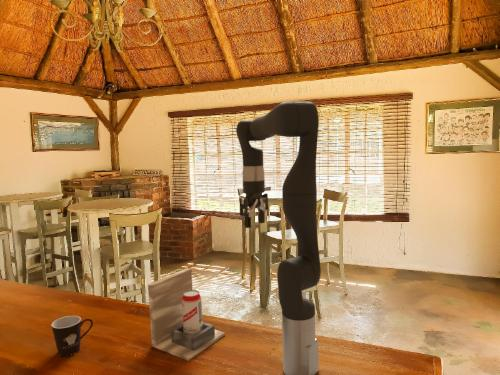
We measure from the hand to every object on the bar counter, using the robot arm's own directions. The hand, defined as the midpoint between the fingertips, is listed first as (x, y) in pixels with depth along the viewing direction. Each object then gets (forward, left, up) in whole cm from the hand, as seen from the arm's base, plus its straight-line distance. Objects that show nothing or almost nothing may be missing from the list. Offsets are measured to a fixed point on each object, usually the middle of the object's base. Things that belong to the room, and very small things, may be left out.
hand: (255, 225), depth 137 cm
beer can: (+11, +22, -35) cm, 43 cm away
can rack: (+13, +22, -36) cm, 44 cm away
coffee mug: (+41, +46, -36) cm, 72 cm away
